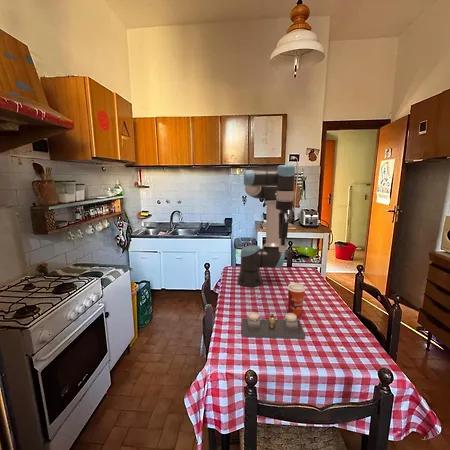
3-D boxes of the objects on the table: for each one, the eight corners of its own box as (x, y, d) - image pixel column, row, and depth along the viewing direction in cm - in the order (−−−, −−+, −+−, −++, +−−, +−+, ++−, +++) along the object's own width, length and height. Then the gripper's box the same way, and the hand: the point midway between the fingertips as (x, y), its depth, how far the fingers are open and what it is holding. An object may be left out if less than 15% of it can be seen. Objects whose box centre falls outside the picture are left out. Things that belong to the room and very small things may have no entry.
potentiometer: (268, 324, 117) (269, 312, 116) (274, 324, 117) (275, 312, 116) (269, 327, 114) (269, 315, 113) (275, 327, 114) (275, 316, 113)
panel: (241, 322, 122) (241, 311, 121) (298, 324, 121) (299, 313, 120) (242, 336, 111) (242, 325, 110) (305, 338, 110) (305, 327, 109)
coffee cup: (291, 320, 124) (293, 290, 121) (282, 311, 132) (284, 283, 129) (307, 317, 126) (309, 288, 124) (298, 309, 134) (299, 281, 131)
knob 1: (247, 321, 118) (248, 311, 117) (258, 322, 118) (258, 312, 117) (248, 327, 114) (248, 317, 113) (259, 327, 113) (259, 317, 113)
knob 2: (284, 322, 117) (284, 312, 117) (294, 323, 117) (295, 313, 116) (286, 328, 113) (286, 318, 112) (297, 329, 113) (297, 318, 112)
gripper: (273, 199, 125) (271, 247, 129) (278, 201, 112) (275, 255, 116) (290, 199, 125) (287, 247, 129) (296, 202, 112) (293, 256, 116)
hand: (281, 251), depth 123 cm, fingers closed
